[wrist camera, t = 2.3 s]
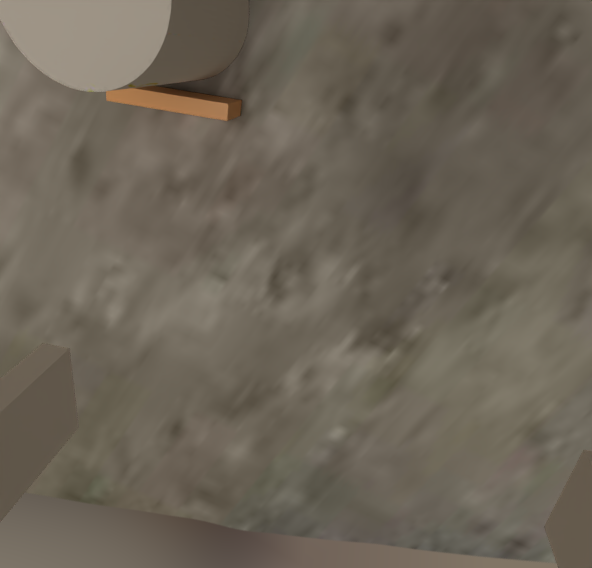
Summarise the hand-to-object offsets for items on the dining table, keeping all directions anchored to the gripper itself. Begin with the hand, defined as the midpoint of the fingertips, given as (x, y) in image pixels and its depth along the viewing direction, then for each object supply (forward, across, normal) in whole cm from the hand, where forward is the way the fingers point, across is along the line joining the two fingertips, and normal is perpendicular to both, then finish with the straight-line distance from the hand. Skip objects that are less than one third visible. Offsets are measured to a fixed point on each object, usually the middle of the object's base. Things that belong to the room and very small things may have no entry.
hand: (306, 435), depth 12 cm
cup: (+24, -12, +10) cm, 29 cm away
